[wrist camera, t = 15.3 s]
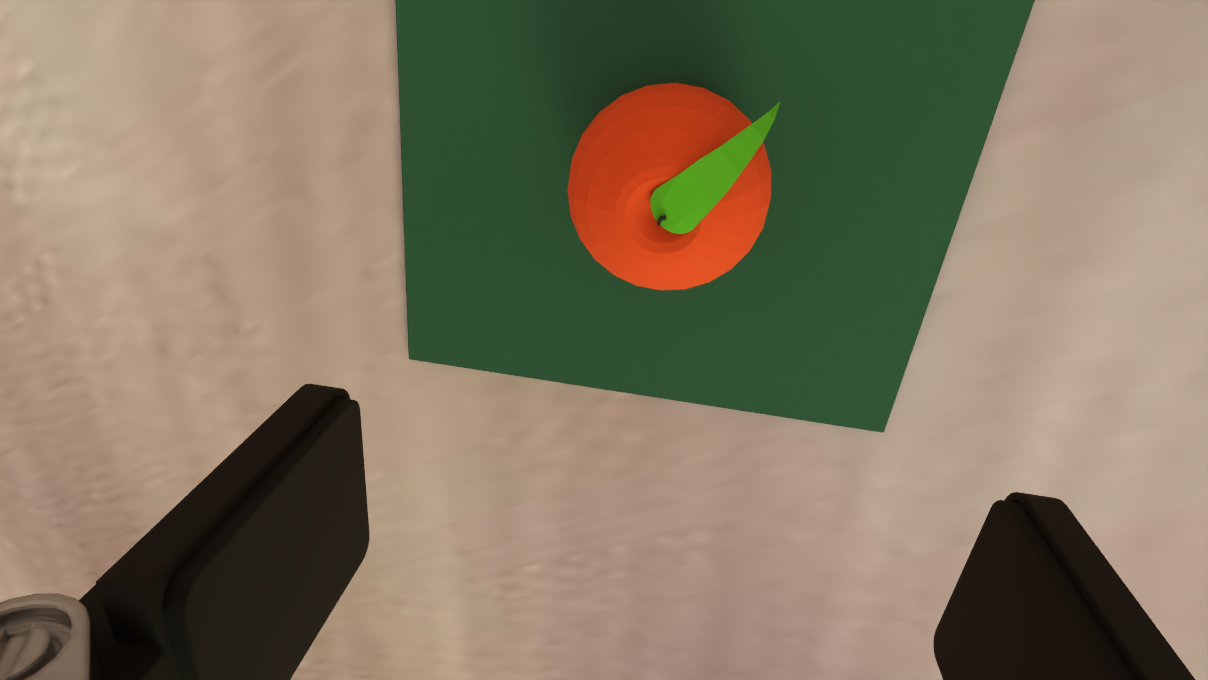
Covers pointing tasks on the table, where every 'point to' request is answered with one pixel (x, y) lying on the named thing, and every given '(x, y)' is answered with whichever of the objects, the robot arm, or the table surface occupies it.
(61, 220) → the table surface
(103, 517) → the table surface
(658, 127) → the clementine
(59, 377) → the table surface
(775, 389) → the cloth
